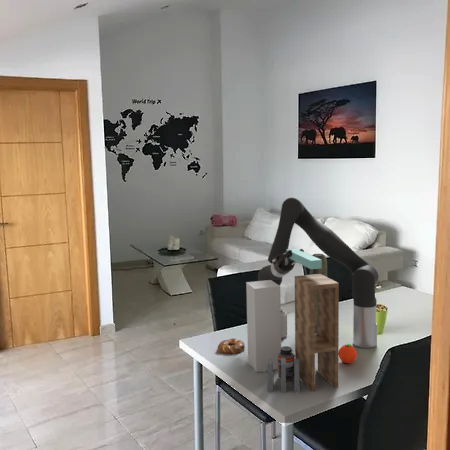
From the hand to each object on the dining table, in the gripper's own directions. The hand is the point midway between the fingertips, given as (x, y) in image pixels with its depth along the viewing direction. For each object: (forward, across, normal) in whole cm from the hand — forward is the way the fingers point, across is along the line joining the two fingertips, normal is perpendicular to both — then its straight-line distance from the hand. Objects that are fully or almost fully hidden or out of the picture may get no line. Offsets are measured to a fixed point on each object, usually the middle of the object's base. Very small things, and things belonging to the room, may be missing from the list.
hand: (296, 251), depth 190 cm
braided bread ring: (-40, -21, +28) cm, 53 cm away
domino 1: (-7, -18, +46) cm, 50 cm away
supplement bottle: (-12, -9, +44) cm, 46 cm away
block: (+4, 0, +5) cm, 6 cm away
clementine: (-17, +18, +41) cm, 48 cm away
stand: (-7, 0, +46) cm, 47 cm away
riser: (-23, -13, +37) cm, 46 cm away
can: (-47, +4, +24) cm, 53 cm away
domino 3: (-4, -9, +48) cm, 49 cm away
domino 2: (-5, -14, +47) cm, 49 cm away
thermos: (-48, +24, +23) cm, 59 cm away
